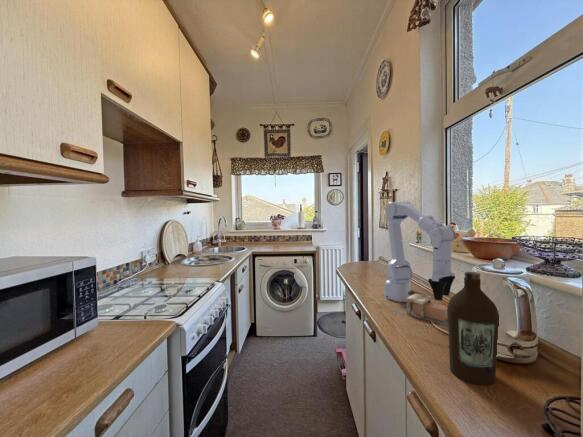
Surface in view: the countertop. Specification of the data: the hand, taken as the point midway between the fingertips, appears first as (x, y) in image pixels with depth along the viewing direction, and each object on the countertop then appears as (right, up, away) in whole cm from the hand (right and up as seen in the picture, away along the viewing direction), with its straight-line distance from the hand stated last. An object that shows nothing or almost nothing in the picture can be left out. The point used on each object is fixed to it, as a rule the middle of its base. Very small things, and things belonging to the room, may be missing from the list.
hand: (441, 297), depth 99 cm
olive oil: (-10, -10, -31) cm, 34 cm away
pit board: (-4, -9, +4) cm, 10 cm away
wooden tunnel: (-6, -8, +6) cm, 11 cm away
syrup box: (+2, -8, +39) cm, 40 cm away
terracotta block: (-3, -8, +3) cm, 9 cm away
